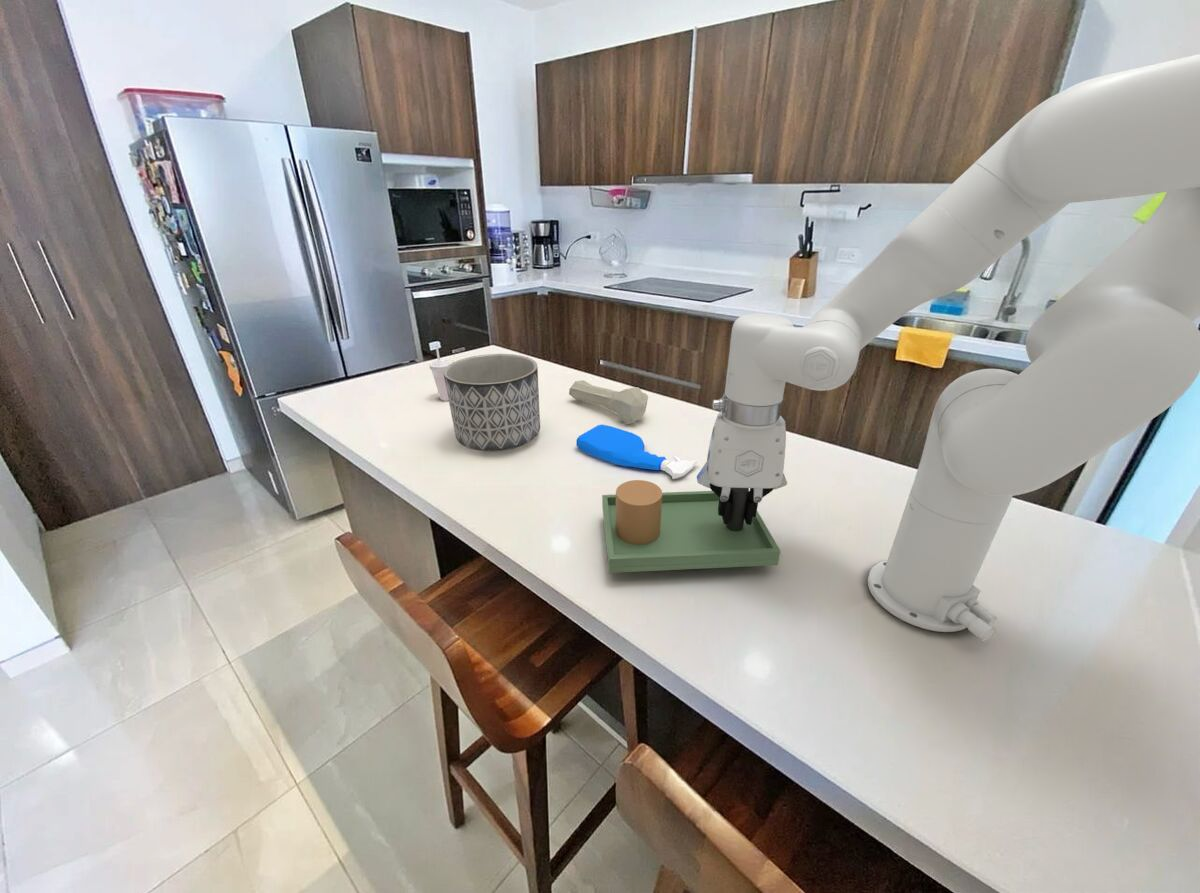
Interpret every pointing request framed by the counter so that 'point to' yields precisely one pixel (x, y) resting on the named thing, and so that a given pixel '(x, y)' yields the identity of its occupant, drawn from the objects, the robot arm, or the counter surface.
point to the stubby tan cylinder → (638, 511)
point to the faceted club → (613, 399)
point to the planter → (494, 401)
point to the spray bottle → (628, 451)
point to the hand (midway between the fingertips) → (735, 518)
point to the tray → (693, 536)
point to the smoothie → (440, 375)
